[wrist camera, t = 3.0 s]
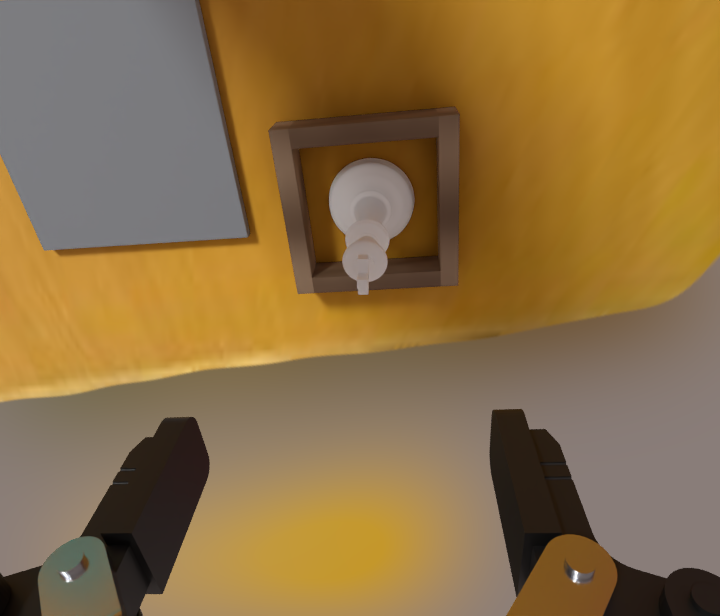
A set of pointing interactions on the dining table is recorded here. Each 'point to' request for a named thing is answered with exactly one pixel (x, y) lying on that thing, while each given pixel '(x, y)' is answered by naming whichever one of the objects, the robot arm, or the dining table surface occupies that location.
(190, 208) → the mat
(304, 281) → the square frame
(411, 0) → the dining table surface
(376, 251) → the chess piece
